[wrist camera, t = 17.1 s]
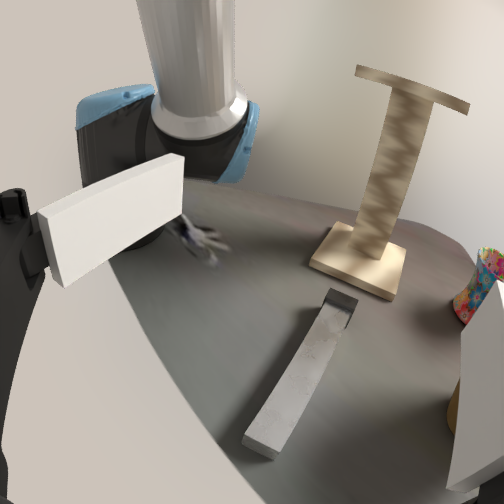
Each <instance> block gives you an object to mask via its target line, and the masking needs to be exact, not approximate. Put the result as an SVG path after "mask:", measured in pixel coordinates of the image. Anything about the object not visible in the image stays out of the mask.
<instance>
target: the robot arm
mask: <svg viewBox="0 0 504 504" xmlns="http://www.w3.org/2000/svg"><path fill="white" fill-rule="evenodd" d="M136 2H137V6H138V10H139V15H140V19H141V24H142V28H143V32H144V36H145V40H146V45H147V49H148V52H149V57H150V60H151V65H152V69H153V73H154V77H155V80H156V84H157V88H158V92H157V94H156V95H154V93H155V90H154V87H153V86H152V85H151V84H140V85H132V86H125V87H120V88H115V89H111V90H107V91H103V92H100V93H96V94H93V95H90V96H88V97H86V98H84V99H82V100H81V101H80V102H79V104H78V106H77V110H76V127H75V130H76V131H77V142H78V153H79V162H80V170H81V178H82V185H83V189H80V190H78V191H76V192H74V193H72V194H70V195H68V196H66V197H63V198H61V199H59V200H57V201H55V202H53V203H51V204H49V205H47V206H45V207H43V208H41V209H39V210H37V213H35V214H33V215H30V212H29V207H28V202H27V197H26V192H25V190H23V189H21V188H15V189H9V190H7V191H4V192H2V193H0V504H13V503H12V502H11V501H9V500H7V482H8V467H7V462H6V459H5V457H4V454H3V452H2V448H1V441H2V434H3V427H4V420H5V415H6V410H7V405H8V400H9V395H10V390H11V386H12V381H13V377H14V373H15V369H16V365H17V361H18V357H19V354H20V350H21V347H22V344H23V340H24V337H25V334H26V330H27V327H28V324H29V321H30V318H31V315H32V312H33V309H34V306H35V304H36V301H37V298H38V295H39V293H40V290H41V287H42V285H43V282H44V279H45V272H44V269H45V268H46V267H48V266H50V270H51V273H52V277H53V279H54V280H55V281H56V282H57V283H58V284H59V285H61V286H62V287H63V288H64V289H65V288H66V287H68V286H69V285H71V284H72V283H74V282H75V281H77V280H78V279H79V278H81V277H82V276H84V275H85V274H87V273H88V272H90V271H91V270H93V269H94V268H96V267H97V266H99V265H100V264H102V263H103V262H105V261H106V260H108V259H109V258H111V257H113V256H114V255H116V254H117V253H119V252H120V251H125V250H130V249H134V248H138V247H140V246H143V245H145V244H147V243H149V242H151V241H152V240H154V239H155V238H156V237H158V236H159V235H160V233H161V232H162V231H163V229H164V226H165V223H167V222H168V221H170V220H172V219H173V218H175V217H177V216H178V215H180V214H182V193H183V178H187V179H195V180H203V181H211V182H212V183H237V182H239V181H241V180H242V179H243V177H244V175H245V172H246V169H247V165H248V161H249V157H250V153H251V148H252V144H253V141H254V137H255V132H256V128H257V123H258V117H259V110H260V109H259V106H258V105H257V104H256V103H252V102H251V101H248V100H247V94H246V92H245V89H244V88H243V87H242V85H241V84H240V83H239V82H238V81H236V80H235V79H234V19H235V18H234V16H235V15H234V14H235V13H234V12H235V9H234V8H235V0H136ZM479 486H480V489H479V495H478V496H477V497H475V498H473V499H471V500H468V501H466V502H464V503H462V504H504V283H503V282H501V281H499V280H496V281H495V283H494V285H493V286H492V288H491V289H490V291H489V293H488V294H487V296H486V297H485V299H484V300H483V302H482V303H481V305H480V306H479V308H478V309H477V311H476V312H475V314H474V315H473V317H472V318H471V320H470V321H469V323H468V324H467V325H466V327H465V328H464V330H463V331H462V332H461V372H460V392H459V405H458V416H457V425H456V433H455V441H454V448H453V454H452V460H451V466H450V471H449V476H448V481H447V486H446V489H448V490H453V491H457V492H462V493H467V492H469V491H471V490H473V489H475V488H477V487H479Z"/></svg>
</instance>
